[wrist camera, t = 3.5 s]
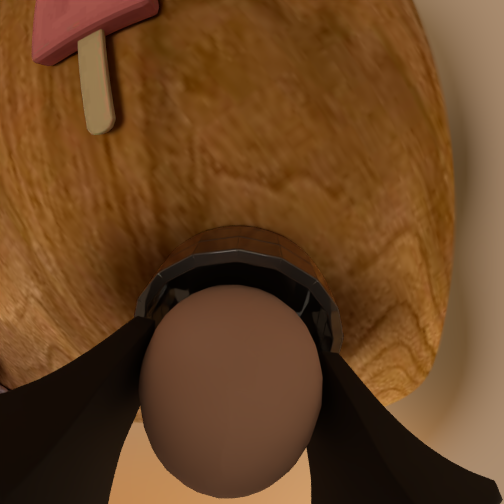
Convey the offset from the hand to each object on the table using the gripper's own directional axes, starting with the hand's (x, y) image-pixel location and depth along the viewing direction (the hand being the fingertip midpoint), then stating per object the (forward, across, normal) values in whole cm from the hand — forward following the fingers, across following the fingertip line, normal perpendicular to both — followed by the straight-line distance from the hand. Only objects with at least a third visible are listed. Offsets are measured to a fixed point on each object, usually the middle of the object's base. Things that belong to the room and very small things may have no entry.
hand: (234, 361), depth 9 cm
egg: (+3, 0, 0) cm, 3 cm away
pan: (+3, 0, 0) cm, 3 cm away
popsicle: (+3, +9, -13) cm, 16 cm away
